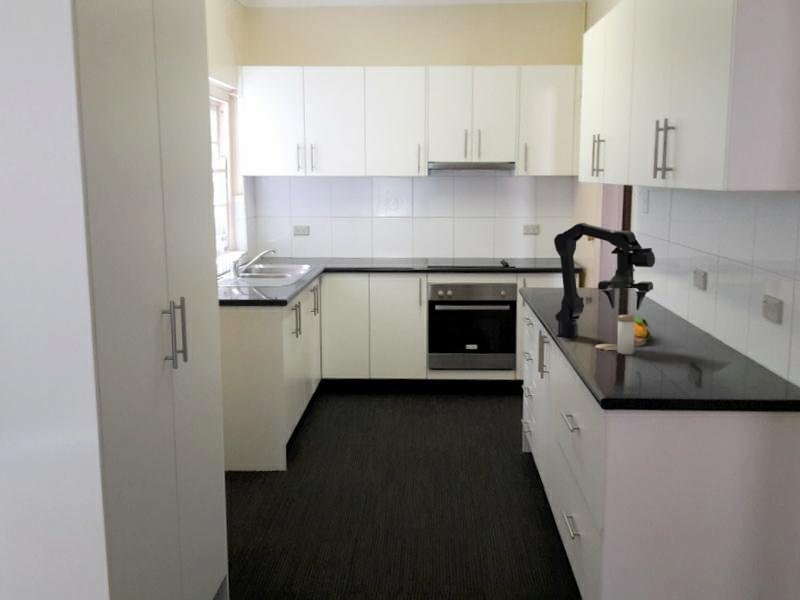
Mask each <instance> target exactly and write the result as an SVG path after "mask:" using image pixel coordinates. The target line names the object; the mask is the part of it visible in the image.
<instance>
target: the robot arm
mask: <svg viewBox="0 0 800 600" xmlns="http://www.w3.org/2000/svg"><path fill="white" fill-rule="evenodd" d="M583 236H585V237H586V236H587V237H590V238H595V239H599V240H602V241H605V242H608V243H610V245H612V246H614V247H615V248H614V249H613V250H612V251H611V254H612V255H616V269H615V271H614V272H615V274H614V275H613V277H612V278H611V279H610V280H609V279H608V280H607V279H606V280H605V279H603V280H601V281H599V282H598V284H597V289H598V290H601V292H602V293H604V294H606V296H607V297H606V298H608V301H609V304H610V307H611V309H613V310H614V309H615V306H616V305H615V303H616V293H615V292H616V289H617V290H618V289H619V290H624V289H636V290H637V291H635V292H636V293H635V294H636V311H639V310H640V308H641V305H642V302H643V301H644V298H645V296H646V294H647V293H650V291H652V290H654V283H653V282H652V281H640V282H637V283H635V281H636V280H635V279H634V272H636V271H635V270H636V269H635V268H634V267H637V268H653V267H654V265H655V262H656V256H655V254H654V252H653V249H652V247H645V248H644V247H642V246H641V244H640V243H639V241H638V240H637V237H636V235H635V233H634V232H633V231H631V230H611V229H608V228H603V227H599V226H597V225H596V226H594V225H592V224H587V223H586V222H579V223H576V224H575V225H574V226H572V227H571V228H569V229H567V230H565V231H563V232H562V233H558V234H557V235H555V237H554V239H553V243H554V246H555V247H554V248H555V250H556V253H557V254H558V256H559V257H560V267H561V268H560V269H561V276H562V285H563V295H562V300H561V305H560V309H559V311H558V312H557V313H556V314H555V316H554V317H555V321H556V322H558V323H557V324H558V326H557V327H558V328H557V334H555V337H560V338H562V337H563V338H571V339H572V338H574V337H576V336H579V332H578V331H579V330H578V328H579V325H578V323H577V322H578V320H579V319H580V317H581V316H580V315H582V314H583V311H584V309H585V304H584V297H583V296H579V294H578V290H577V288H578V287H577V279H576V278H577V277H576V268H575V260H574V259H575V258H574V255H575V252H576V250H577V242H578V241H579V240H581V239H582V238H583Z"/></svg>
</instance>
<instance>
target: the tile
mask: <svg viewBox="0 0 800 600" xmlns="http://www.w3.org/2000/svg"><path fill="white" fill-rule="evenodd" d="M646 341H647V340H646V338H639V337H634V347H641V346H643V345H645V344H646V343H647V342H646Z"/></svg>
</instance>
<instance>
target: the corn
mask: <svg viewBox="0 0 800 600" xmlns="http://www.w3.org/2000/svg"><path fill="white" fill-rule="evenodd" d="M647 321H648V320H646V319H644V318H641V317H637V316H635V326H634V337H639V338H646V341H648V340H650V338H651V333H650V331H649V330H648V328H650V326H649V323H648V322H647Z"/></svg>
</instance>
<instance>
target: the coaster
mask: <svg viewBox="0 0 800 600" xmlns="http://www.w3.org/2000/svg"><path fill="white" fill-rule="evenodd" d="M597 348H598V349H597ZM595 349H597V350H600V349H604V350H603V351H608V350H614V351H617V344H616V343H615V344H614V343H600V344H596V345H595Z"/></svg>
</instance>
